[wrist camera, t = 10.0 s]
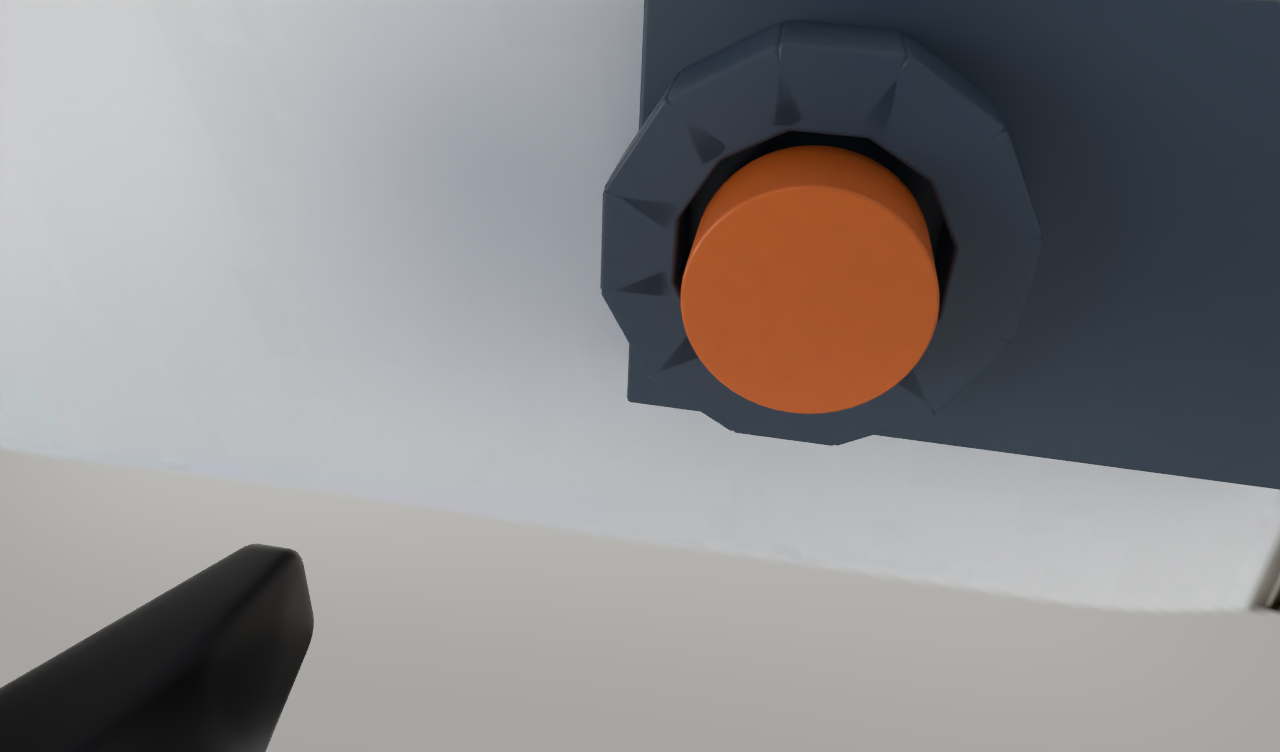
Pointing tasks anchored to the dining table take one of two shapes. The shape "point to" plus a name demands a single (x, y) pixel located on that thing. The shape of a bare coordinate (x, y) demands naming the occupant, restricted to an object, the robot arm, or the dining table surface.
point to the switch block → (995, 213)
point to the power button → (811, 281)
